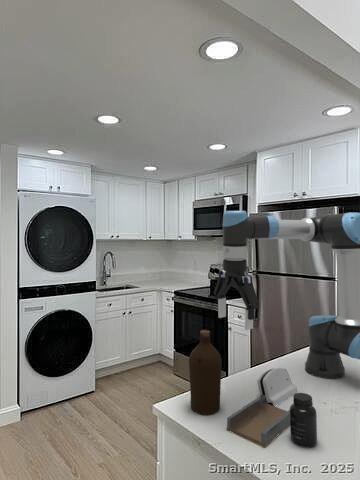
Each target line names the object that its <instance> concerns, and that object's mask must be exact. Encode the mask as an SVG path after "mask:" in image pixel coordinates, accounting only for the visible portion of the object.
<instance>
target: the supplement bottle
mask: <svg viewBox="0 0 360 480" xmlns="http://www.w3.org/2000/svg"><path fill="white" fill-rule="evenodd" d="M292 396H293V400H292V401H293V403H292V404H291V405H290V406H289V410H290V426H289V427H290V428H289V429H290V430H289V432H290V433H289V434H290V438H291V441H292V442H293V443H294V444H295V445H297V446H299V447H302V448H312V447H315V446H316V445H317V443H318V424H317V423H318V421H317V410H316V408H315V407H314V405H313V403H314V402H313V396H311V394H308V393H305V392H297V393H295V394H294V395H292Z"/></svg>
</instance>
